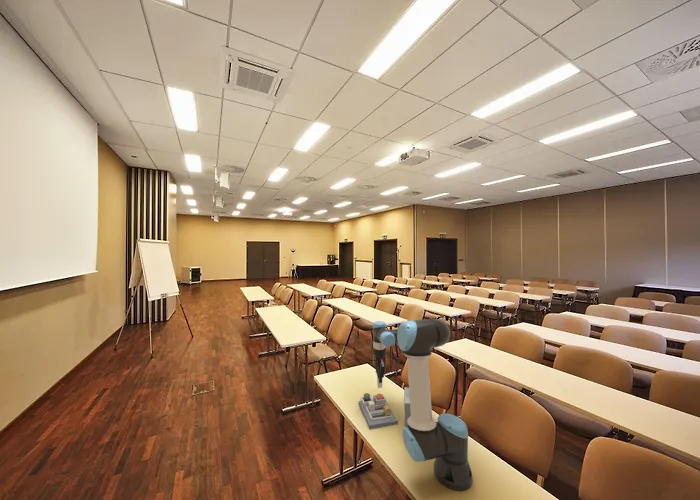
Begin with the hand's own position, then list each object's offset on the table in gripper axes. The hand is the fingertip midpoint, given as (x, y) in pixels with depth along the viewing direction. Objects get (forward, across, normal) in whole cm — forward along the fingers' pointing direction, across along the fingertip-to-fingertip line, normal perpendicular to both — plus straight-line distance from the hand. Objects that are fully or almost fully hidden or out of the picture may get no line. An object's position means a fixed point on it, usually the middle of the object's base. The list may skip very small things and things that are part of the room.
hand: (379, 387), depth 158 cm
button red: (+8, +1, 0) cm, 8 cm away
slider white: (+9, -5, +7) cm, 13 cm away
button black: (+7, +1, +8) cm, 11 cm away
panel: (+12, -6, +4) cm, 14 cm away
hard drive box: (+12, -25, -8) cm, 29 cm away
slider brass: (+9, -11, 0) cm, 15 cm away
